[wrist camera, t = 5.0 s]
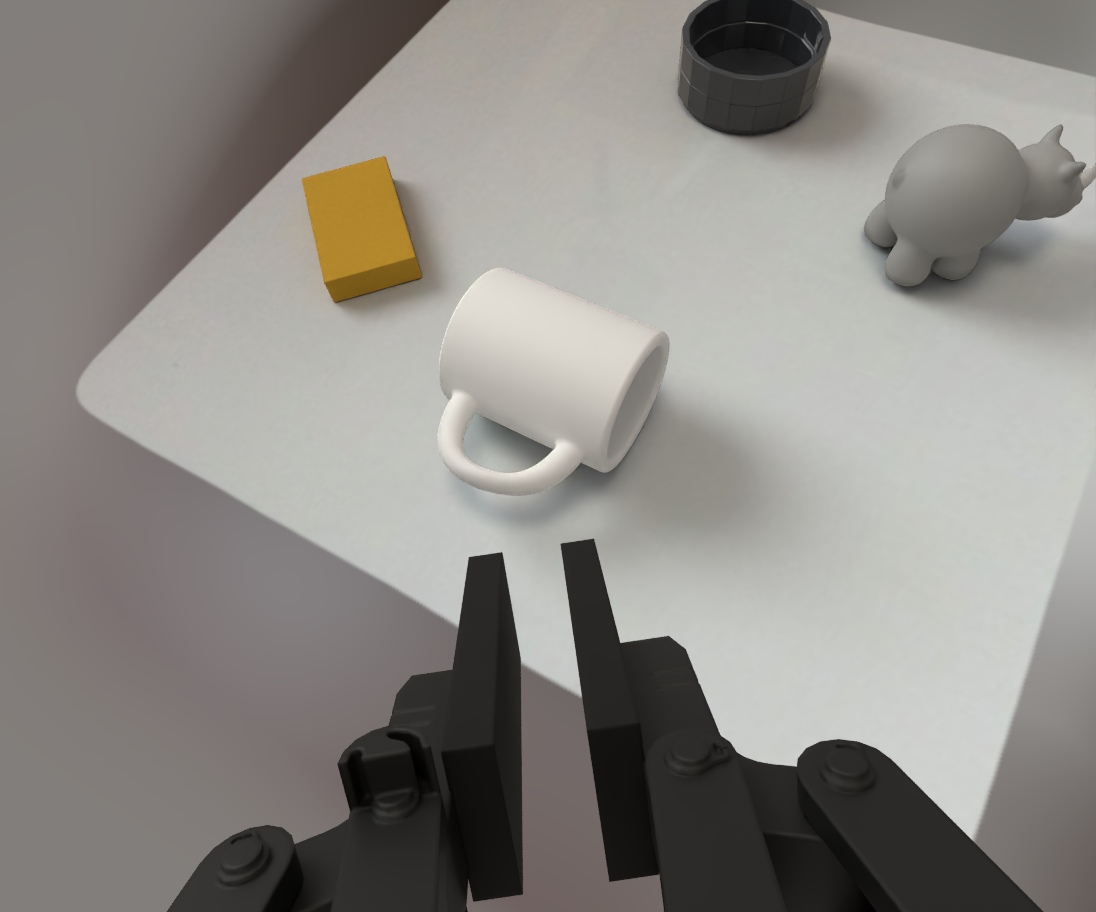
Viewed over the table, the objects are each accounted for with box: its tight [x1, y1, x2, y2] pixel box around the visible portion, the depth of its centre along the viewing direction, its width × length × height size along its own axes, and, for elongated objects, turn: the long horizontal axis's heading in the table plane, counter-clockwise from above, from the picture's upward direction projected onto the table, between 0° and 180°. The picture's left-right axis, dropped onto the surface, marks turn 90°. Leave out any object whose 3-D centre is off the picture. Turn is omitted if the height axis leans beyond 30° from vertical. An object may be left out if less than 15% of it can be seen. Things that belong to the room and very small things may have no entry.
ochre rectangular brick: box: [302, 156, 422, 302], centre depth 51 cm, size 6×10×2 cm, turn 17°
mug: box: [437, 268, 670, 496], centre depth 40 cm, size 12×10×8 cm
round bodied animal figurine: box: [864, 124, 1096, 286], centre depth 44 cm, size 7×12×8 cm, turn 95°
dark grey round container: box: [678, 0, 831, 134], centre depth 54 cm, size 10×10×4 cm
